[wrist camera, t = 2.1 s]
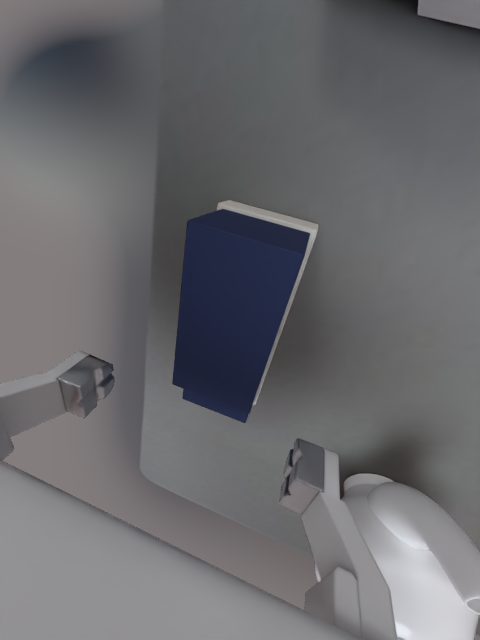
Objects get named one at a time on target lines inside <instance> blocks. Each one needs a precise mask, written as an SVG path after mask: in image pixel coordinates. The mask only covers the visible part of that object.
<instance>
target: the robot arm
mask: <svg viewBox="0 0 480 640" xmlns="http://www.w3.org/2000/svg"><path fill="white" fill-rule="evenodd" d="M113 370H114V369H113V364H110V363H108V362H106V361H104V360H101V359H99V358H97V357H94V356H92V355H90V354H87V353H84V352H82V351H79V352H76V353H74V354H73V355H72V356H70V357H69V358H67V359H66V360H64V361H63V362H61V363H60V364H59V365H57V366H56V367H54V368H53V369H51V370H50V371H48V372H47V373H46V374H43V373H39V374H36V375H32V376H28V377H24V378H20V379H16V380H13V381H9V382H5V383H1V384H0V640H397V633H396V626H395V619H394V613H393V606H392V599H391V592H390V588H389V586H388V584H387V582H386V581H385V579H384V577H383V575H382V573H381V571H380V569H379V567H378V565H377V563H376V561H375V559H374V558H373V556H372V554H371V552H370V550H369V548H368V546H367V544H366V542H365V540H364V538H363V537H362V535H361V533H360V531H359V529H358V527H357V525H356V523H355V521H354V519H353V517H352V515H351V514H350V512H349V510H348V508H347V506H346V504H345V502H344V501H342V500H340V484H339V459H338V455H337V453H334V452H332V451H329V450H327V449H324V448H323V447H320V446H317V445H315V444H312V443H310V442H307V441H304V440H302V439H299V438H298V439H296V441H295V443H294V449H292V450H290V452H289V454H288V457H287V460H286V463H285V467H284V477H285V481H284V483H283V484H282V487H281V493H280V500H279V505H281V506H283V507H285V508H287V509H289V510H291V511H293V512H296V513H298V514H300V515H301V519H302V522H303V525H304V528H305V531H306V535H307V538H308V541H309V544H310V547H311V550H312V553H313V557H314V560H315V563H316V566H317V569H318V572H319V576H320V579H321V581H319V582H318V583H317V584H316V585H315V586H313V587H312V588H311V589H309V590H308V591H307V592H306V593H305V607H304V610H302V609H300V608H298V607H296V606H294V605H292V604H290V603H288V602H286V601H284V600H282V599H280V598H278V597H276V596H274V595H272V594H270V593H268V592H266V591H263V590H262V589H260V588H258V587H256V586H254V585H252V584H250V583H247V582H246V581H244V580H242V579H240V578H237V577H235V576H233V575H231V574H229V573H227V572H225V571H224V570H221V569H219V568H217V567H215V566H213V565H211V564H209V563H207V562H205V561H203V560H201V559H199V558H197V557H195V556H193V555H191V554H189V553H187V552H185V551H183V550H181V549H179V548H177V547H175V546H173V545H171V544H169V543H167V542H165V541H163V540H161V539H159V538H157V537H154V536H153V535H151V534H149V533H147V532H145V531H143V530H141V529H139V528H137V527H135V526H133V525H131V524H128V523H127V522H125V521H122V520H121V519H118V518H117V517H115V516H113V515H111V514H109V513H107V512H105V511H103V510H101V509H99V508H97V507H95V506H92V505H91V504H89V503H87V502H84V501H82V500H80V499H78V498H76V497H74V496H72V495H70V494H68V493H66V492H64V491H62V490H60V489H58V488H56V487H54V486H52V485H50V484H48V483H46V482H44V481H42V480H40V479H38V478H36V477H34V476H32V475H30V474H28V473H26V472H24V471H22V470H20V469H18V468H16V467H14V466H12V465H10V464H8V463H6V462H4V461H3V459H5V458H6V457H7V456H8V455H9V454H10V453H11V452H12V451H13V450H14V446H13V444H12V441H11V439H10V437H12V436H14V435H17V434H19V433H21V432H23V431H25V430H28V429H30V428H32V427H35V426H37V425H39V424H41V423H43V422H46V421H48V420H50V419H52V418H54V417H57V416H59V415H61V414H63V413H65V412H66V411H68V412H70V413H72V414H75V415H77V416H80V417H82V418H85V417H86V416H87V415H88V414H89V413H90V412H91V411H92V410H93V409H94V408H95V407H96V406H97V401H98V400H101V399H104V398H105V397H106V396H107V395H108V394H109V393H110V392H111V390H112V388H113V386H114V377H113V375H112V374H111V372H112V371H113Z"/></svg>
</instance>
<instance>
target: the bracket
mask: <svg viewBox="0 0 480 640" xmlns="http://www.w3.org/2000/svg"><path fill="white" fill-rule="evenodd" d="M417 15H420V16H425V17H429V18H434V19H438V20H443V21H447V22H451V23H456V24H460V25H465V26H469V27H474V28H478V29H480V0H418V14H417Z"/></svg>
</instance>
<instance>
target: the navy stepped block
mask: <svg viewBox="0 0 480 640" xmlns="http://www.w3.org/2000/svg"><path fill="white" fill-rule="evenodd" d="M318 227H319V225H318V224H315V223H312V222H308V221H304V220H301V219H297V218H293V217H290V216H286V215H282V214H279V213H275V212H271V211H268V210H264V209H260V208H257V207H253V206H249V205H246V204H242V203H238V202H235V201H231V200H228V201H224V202H221V203H218V206H217V211H214V212H211V213H209V214H206V215H203V216H200V217H197V218H194V219H191V220H188V221H187V230H186V241H185V252H184V262H183V273H182V284H181V295H180V306H179V317H178V328H177V339H176V350H175V361H174V372H173V383H172V384H173V385H176V386H178V387H181V388H184V390H183V399H185V400H187V401H190V402H192V403H195V404H198V405H200V406H203V407H205V408H208V409H210V410H213V411H215V412H218V413H220V414H223V415H226V416H228V417H231V418H233V419H236V420H238V421H241V422H243V423H245V422H246V420H247V417H248V414H249V413H250V410H251V407H252V405H256V402H257V399H258V396H259V394H260V391H261V388H262V385H263V383H264V380H265V377H266V374H267V371H268V369H269V366H270V363H271V360H272V358H273V355H274V352H275V349H276V347H277V344H278V341H279V338H280V335H281V333H282V330H283V327H284V324H285V322H286V319H287V316H288V313H289V310H290V308H291V305H292V302H293V299H294V297H295V294H296V291H297V288H298V285H299V283H300V280H301V277H302V274H303V272H304V269H305V266H306V263H307V260H308V258H309V255H310V252H311V249H312V247H313V244H314V241H315V238H316V236H317V233H318Z"/></svg>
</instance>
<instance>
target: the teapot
mask: <svg viewBox="0 0 480 640" xmlns="http://www.w3.org/2000/svg"><path fill="white" fill-rule="evenodd" d="M343 487H344V496H343V497H342V499H341V500H342V501H344V502H345V504H346V506H347V508H348V510H349V512H350V514H351V515H352V517H353V519H354V521H355V523H356V525H357V527H358V529H359V531H360V533H361V535H362V537H363V538H364V540H365V542H366V544H367V546H368V548H369V550H370V552H371V554H372V556H373V558H374V559H375V561H376V563H377V565H378V567H379V569H380V571H381V573H382V575H383V577H384V579H385V581H386V582H387V584H388V586H389V588H390V592H391V599H392V606H393V613H394V619H395V626H396V633H397V640H475V634H476V629H477V625H478V621H479V615H480V551H479V550H478V548H477V547H476V546H475V544H474V543H473V542H472V540H471V539H470V538H469V536H468V535H467V534H466V533H465V531H464V530H463V529H462V528H461V527H460V526H459V524H458V523H457V522H456V521H455V520H454V519H453V518H452V517H451V516H450V515H449V514H448V513H447V512H446V511H445V510H444V509H443V508H442V507H441V506H440V505H438V504H437V503H436V502H435V501H433V500H432V499H431V498H430V497H428V496H427V495H425V494H424V493H422V492H420V491H419V490H417V489H415V488H413V487H410V486H408V485H405V484H402V483H398V482H394V481H392V480H391V479H389V478H386V477H384V476H380V475H377V474H367V473H363V474H356V475H353V476H350V477H349V478H347V479H346V480H345V482H344V484H343ZM314 568H315V575H316V578H317V581H318V582H319V581H321V579H320V576H319V572H318V569H317V566H316V563H315V560H314Z"/></svg>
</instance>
